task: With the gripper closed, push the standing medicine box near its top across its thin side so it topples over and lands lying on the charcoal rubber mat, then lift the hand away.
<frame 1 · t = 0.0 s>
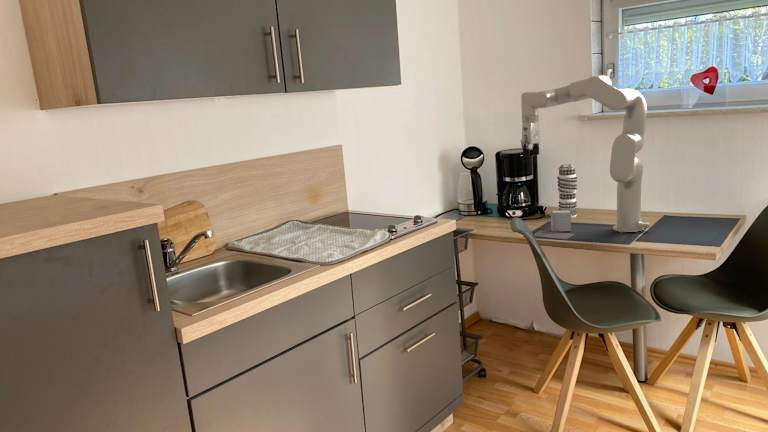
hand: (531, 156, 286), 31 cm above the table, tool pointing down, fingers open, 9 cm apart
decorative candle: (567, 216, 297), on the table
medicine box: (560, 231, 270), on the table, touching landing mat
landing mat: (552, 235, 264), on the table
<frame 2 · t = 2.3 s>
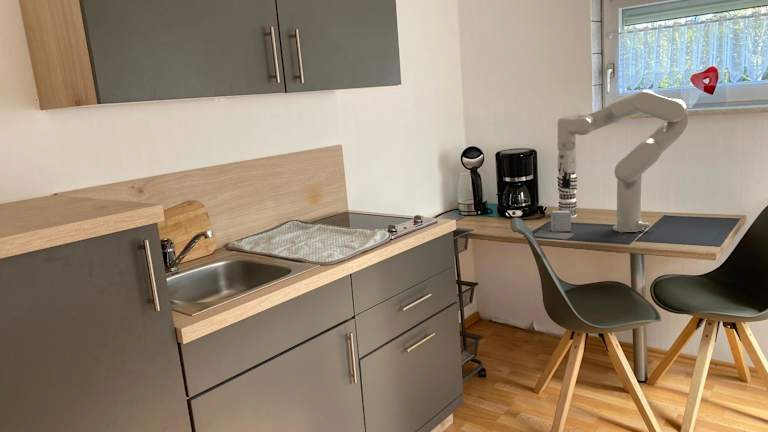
hand: (566, 187, 272), 18 cm above the table, tool pointing down, fingers closed
nothing on the table moved.
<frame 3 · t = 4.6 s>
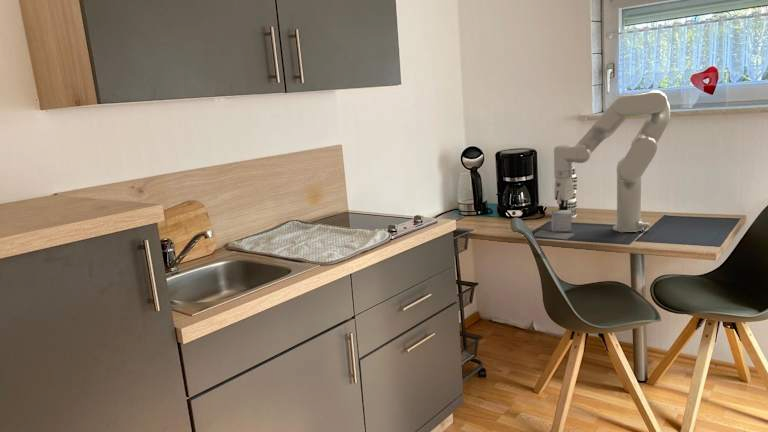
hand: (563, 214, 271), 7 cm above the table, tool pointing down, fingers closed
medicine box: (560, 230, 270), on the table, touching gripper, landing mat
everything else where it was.
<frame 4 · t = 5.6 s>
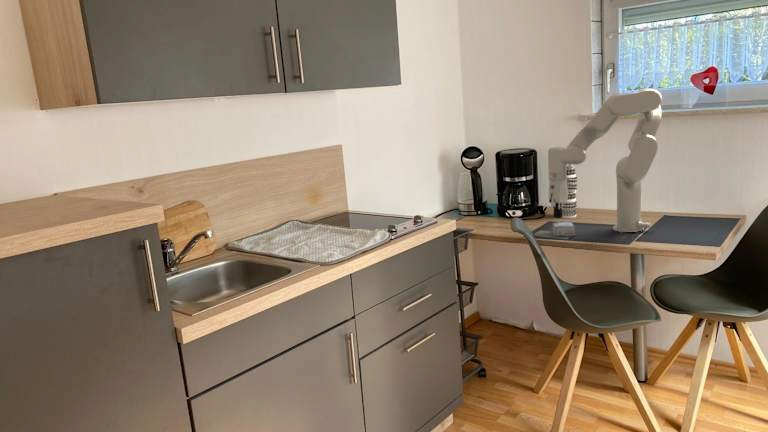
hand: (557, 217, 267), 7 cm above the table, tool pointing down, fingers closed
medicine box: (561, 226, 268), point 2 cm above the table, touching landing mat
everything else where it was.
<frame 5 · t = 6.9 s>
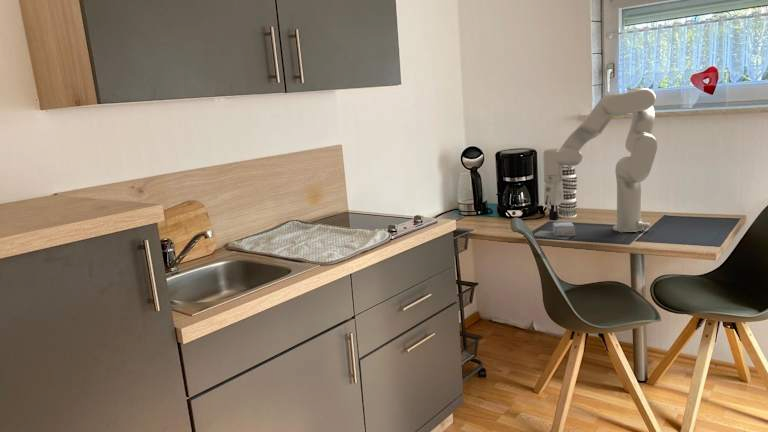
hand: (553, 220, 264), 7 cm above the table, tool pointing down, fingers closed
nothing on the table moved.
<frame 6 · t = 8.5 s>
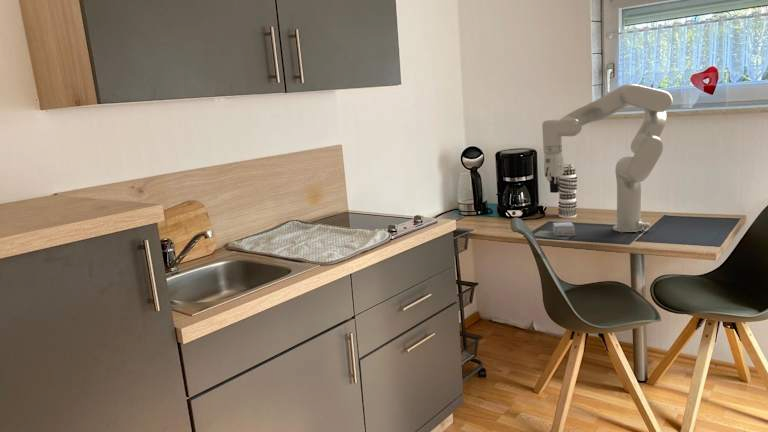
hand: (554, 192, 261), 19 cm above the table, tool pointing down, fingers closed
nothing on the table moved.
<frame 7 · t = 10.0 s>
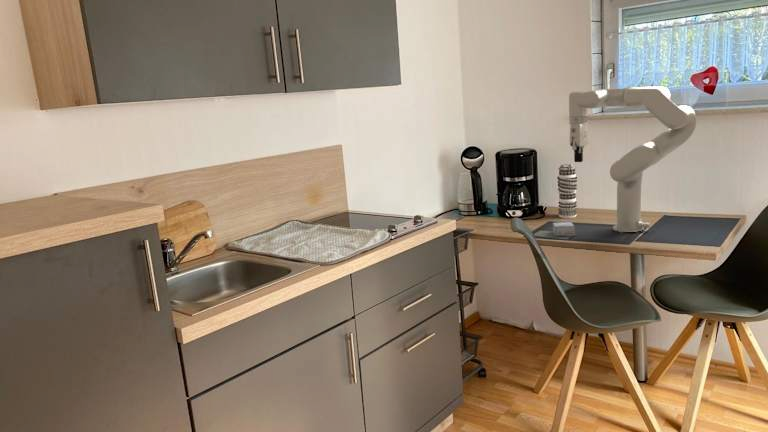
hand: (578, 161, 271), 29 cm above the table, tool pointing down, fingers closed
nothing on the table moved.
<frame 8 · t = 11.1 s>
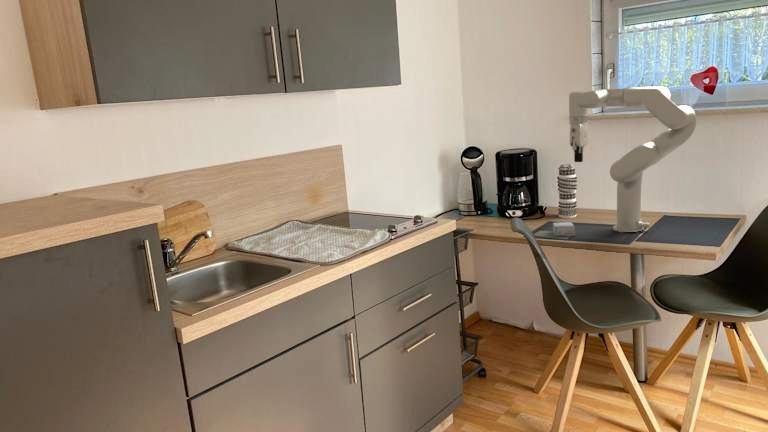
hand: (578, 161, 272), 29 cm above the table, tool pointing down, fingers closed
nothing on the table moved.
at the end: medicine box tilted 89°; medicine box touching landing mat; medicine box inside the target area (1.4 cm from its centre), point 2.5 cm above the table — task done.
